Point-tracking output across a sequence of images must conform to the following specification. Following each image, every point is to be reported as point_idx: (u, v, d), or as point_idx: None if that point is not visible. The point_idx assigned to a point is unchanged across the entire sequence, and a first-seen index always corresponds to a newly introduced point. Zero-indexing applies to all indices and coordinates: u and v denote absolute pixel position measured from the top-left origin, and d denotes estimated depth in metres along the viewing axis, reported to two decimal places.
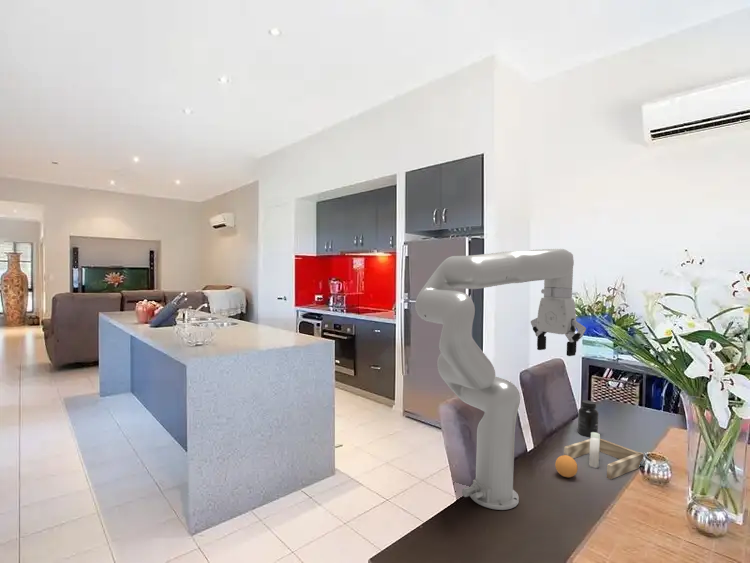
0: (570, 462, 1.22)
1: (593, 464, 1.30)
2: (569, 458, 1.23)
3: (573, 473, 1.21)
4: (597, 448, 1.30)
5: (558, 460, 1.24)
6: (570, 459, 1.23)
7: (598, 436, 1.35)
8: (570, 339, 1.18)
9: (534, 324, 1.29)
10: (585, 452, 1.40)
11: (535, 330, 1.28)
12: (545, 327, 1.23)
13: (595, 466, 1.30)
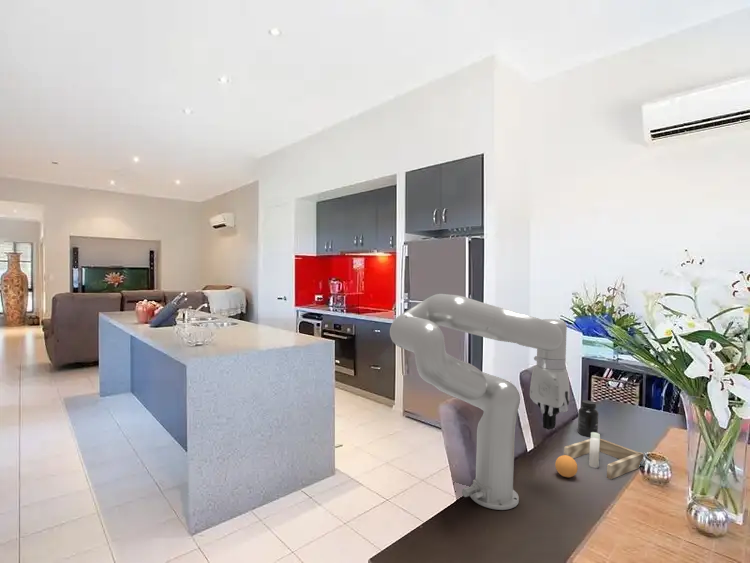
0: (570, 462, 1.22)
1: (593, 464, 1.30)
2: (569, 458, 1.23)
3: (573, 473, 1.21)
4: (597, 448, 1.30)
5: (558, 460, 1.24)
6: (570, 459, 1.23)
7: (598, 436, 1.35)
8: (550, 413, 1.17)
9: None
10: (585, 452, 1.40)
11: (540, 406, 1.21)
12: (538, 397, 1.19)
13: (595, 466, 1.30)
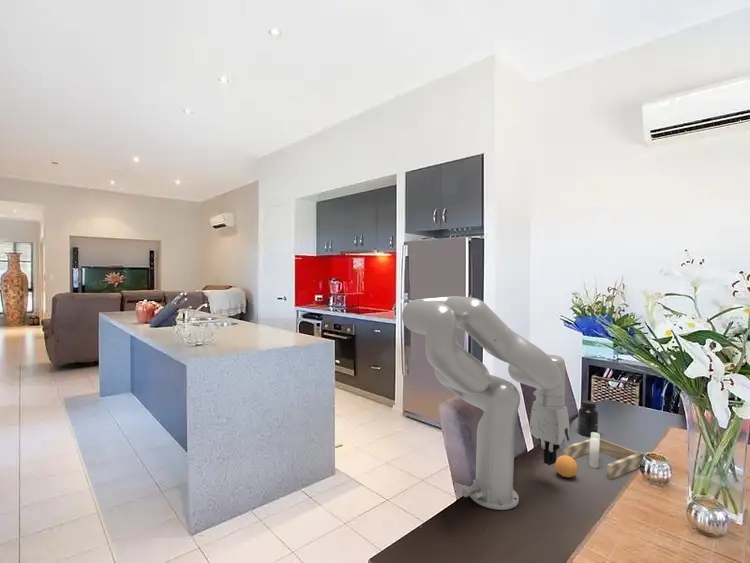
0: (570, 462, 1.22)
1: (593, 464, 1.30)
2: (569, 458, 1.23)
3: (573, 473, 1.21)
4: (597, 448, 1.30)
5: (558, 460, 1.24)
6: (570, 459, 1.23)
7: (598, 436, 1.35)
8: (550, 449, 1.18)
9: None
10: (585, 452, 1.40)
11: None
12: (538, 433, 1.19)
13: (595, 466, 1.30)
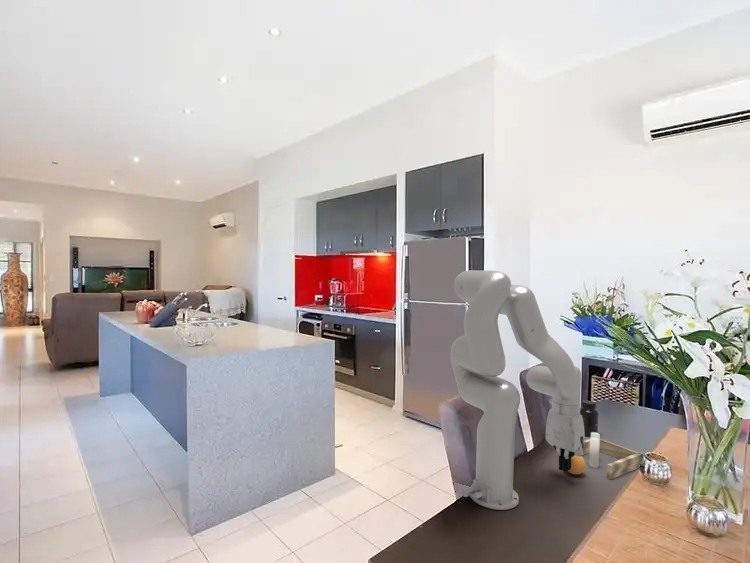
0: (583, 459, 1.25)
1: (593, 464, 1.30)
2: None
3: (580, 467, 1.23)
4: (597, 448, 1.30)
5: None
6: (583, 459, 1.26)
7: (598, 436, 1.35)
8: (565, 456, 1.22)
9: None
10: (585, 452, 1.40)
11: None
12: (554, 441, 1.23)
13: (595, 466, 1.30)
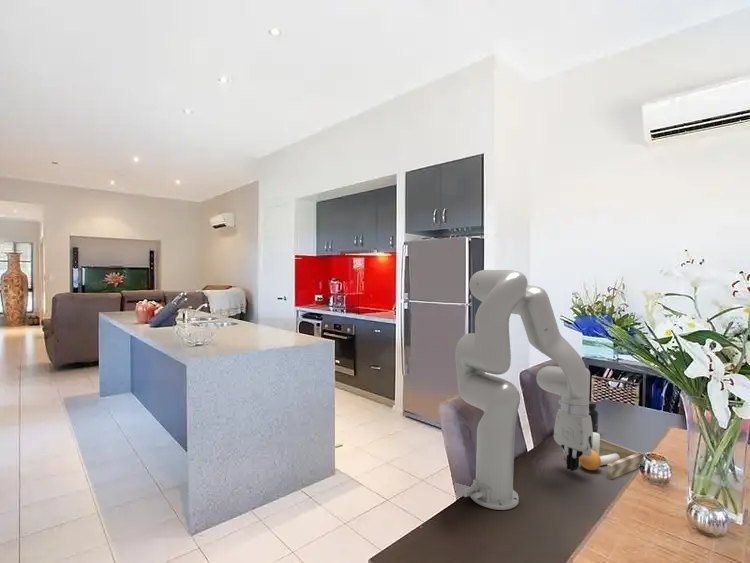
0: (595, 469, 1.28)
1: (602, 459, 1.31)
2: None
3: (600, 461, 1.27)
4: (614, 460, 1.33)
5: None
6: None
7: (598, 436, 1.35)
8: (573, 455, 1.24)
9: None
10: None
11: None
12: (562, 440, 1.25)
13: (601, 461, 1.31)
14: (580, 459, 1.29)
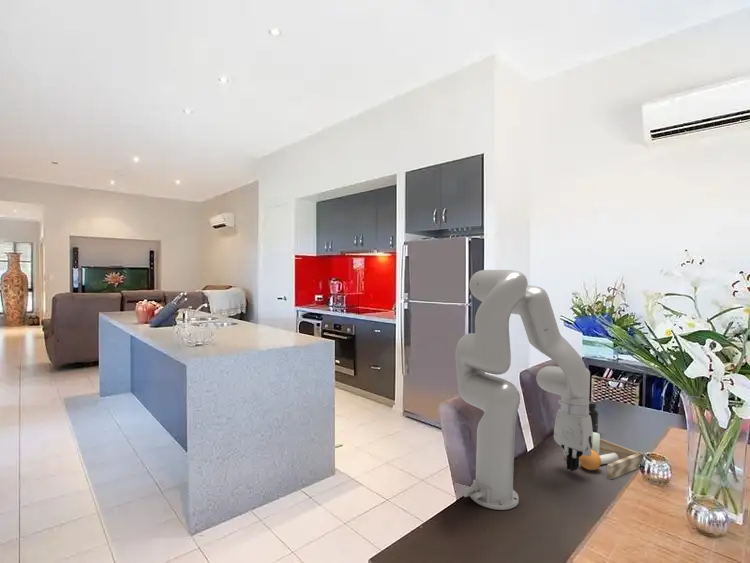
0: (595, 469, 1.28)
1: None
2: None
3: (600, 461, 1.27)
4: (612, 457, 1.34)
5: None
6: None
7: (598, 436, 1.35)
8: (573, 455, 1.24)
9: None
10: None
11: None
12: (562, 440, 1.25)
13: None
14: (580, 459, 1.29)
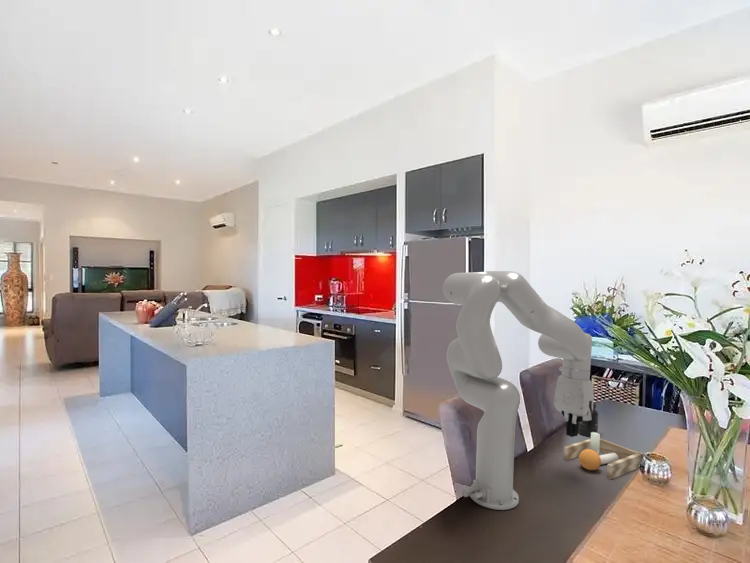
0: (595, 469, 1.28)
1: None
2: None
3: (600, 461, 1.27)
4: (612, 457, 1.34)
5: None
6: None
7: (598, 436, 1.35)
8: (573, 421, 1.23)
9: None
10: None
11: None
12: (562, 406, 1.25)
13: None
14: (580, 459, 1.29)
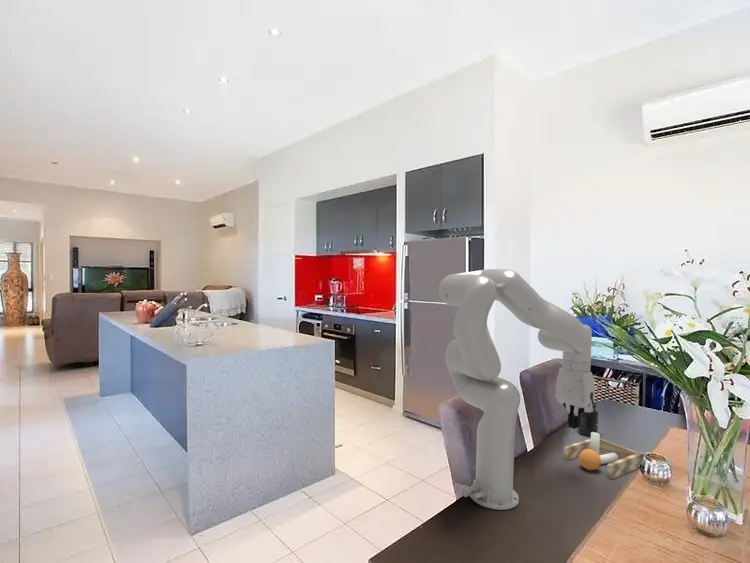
0: (595, 469, 1.28)
1: None
2: None
3: (600, 461, 1.27)
4: (612, 457, 1.34)
5: None
6: None
7: (598, 436, 1.35)
8: (575, 413, 1.24)
9: None
10: None
11: (566, 406, 1.27)
12: (564, 398, 1.25)
13: None
14: (580, 459, 1.29)
